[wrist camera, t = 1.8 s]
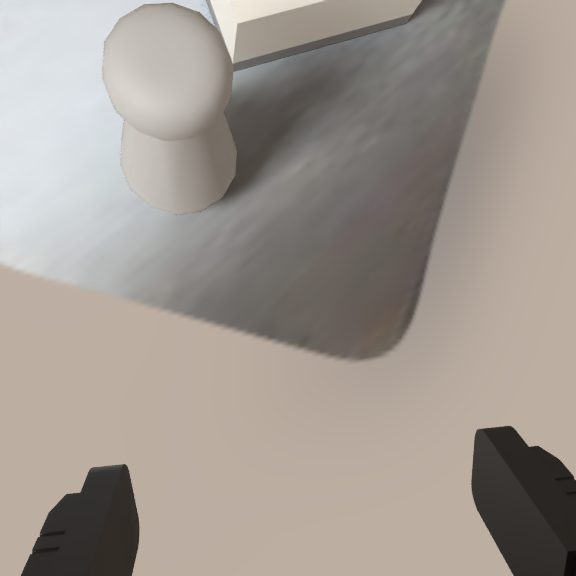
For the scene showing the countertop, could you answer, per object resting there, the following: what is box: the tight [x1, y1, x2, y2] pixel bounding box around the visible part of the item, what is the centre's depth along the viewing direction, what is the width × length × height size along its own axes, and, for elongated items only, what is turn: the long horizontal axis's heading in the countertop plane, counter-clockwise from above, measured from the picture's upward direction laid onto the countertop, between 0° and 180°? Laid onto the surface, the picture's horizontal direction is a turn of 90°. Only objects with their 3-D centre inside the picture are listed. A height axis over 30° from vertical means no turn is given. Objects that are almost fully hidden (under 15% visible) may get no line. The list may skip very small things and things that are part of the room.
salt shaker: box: [102, 3, 237, 215], centre depth 23 cm, size 6×6×13 cm
